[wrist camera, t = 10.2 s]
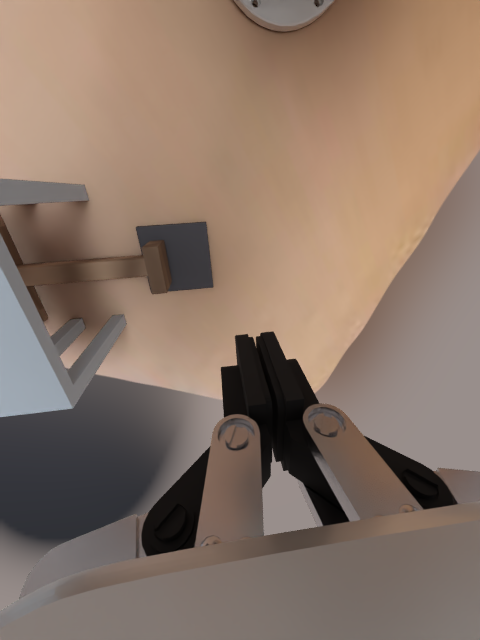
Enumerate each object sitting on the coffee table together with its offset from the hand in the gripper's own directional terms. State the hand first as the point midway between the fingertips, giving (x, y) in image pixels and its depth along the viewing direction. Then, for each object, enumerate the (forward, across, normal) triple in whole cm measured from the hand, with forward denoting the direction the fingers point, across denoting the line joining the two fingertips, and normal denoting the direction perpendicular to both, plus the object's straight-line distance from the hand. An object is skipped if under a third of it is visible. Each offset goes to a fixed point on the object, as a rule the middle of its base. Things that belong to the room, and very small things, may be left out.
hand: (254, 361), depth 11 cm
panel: (+23, +6, 0) cm, 24 cm away
